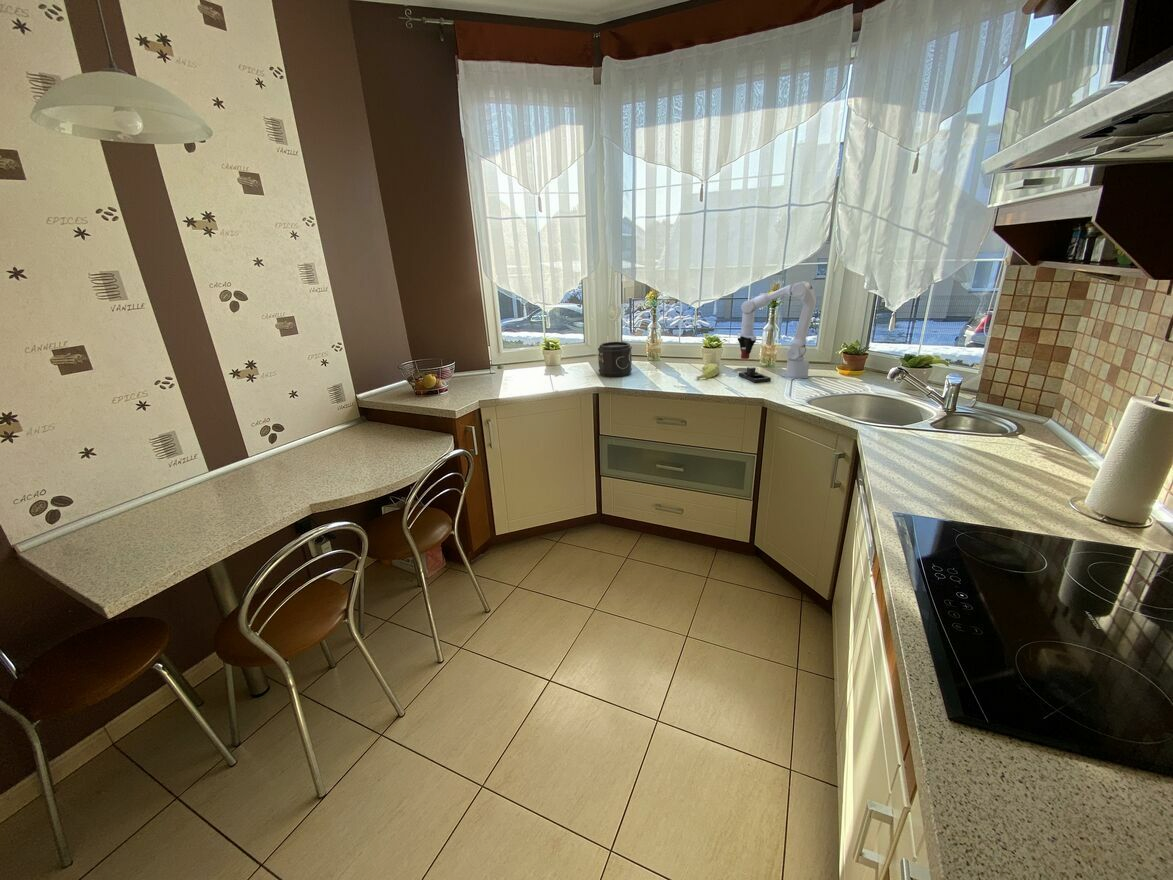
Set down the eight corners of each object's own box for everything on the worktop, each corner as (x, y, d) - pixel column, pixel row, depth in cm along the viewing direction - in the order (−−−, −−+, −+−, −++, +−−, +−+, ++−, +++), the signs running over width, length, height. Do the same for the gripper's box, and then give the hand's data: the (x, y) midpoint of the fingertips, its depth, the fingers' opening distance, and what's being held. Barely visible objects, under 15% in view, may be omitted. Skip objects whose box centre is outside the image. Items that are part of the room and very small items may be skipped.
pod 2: (752, 375, 235) (753, 365, 233) (757, 377, 231) (757, 367, 229) (744, 376, 234) (744, 366, 232) (748, 378, 230) (749, 368, 228)
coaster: (746, 368, 252) (746, 367, 252) (754, 371, 244) (754, 370, 244) (731, 369, 250) (731, 368, 250) (739, 373, 243) (739, 372, 242)
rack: (738, 377, 236) (738, 372, 235) (753, 375, 237) (754, 371, 236) (754, 384, 222) (754, 379, 221) (770, 382, 223) (771, 377, 222)
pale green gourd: (725, 359, 241) (705, 371, 229) (728, 369, 243) (708, 382, 230) (702, 362, 251) (681, 375, 239) (705, 372, 253) (684, 385, 240)
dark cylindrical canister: (638, 371, 257) (638, 342, 251) (622, 379, 243) (622, 348, 237) (609, 368, 266) (608, 340, 260) (592, 375, 252) (591, 346, 246)
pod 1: (746, 356, 245) (747, 347, 243) (751, 358, 241) (752, 348, 239) (738, 357, 245) (739, 347, 243) (743, 359, 241) (744, 349, 239)
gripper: (733, 324, 243) (731, 350, 248) (747, 327, 230) (745, 355, 235) (745, 323, 244) (743, 349, 249) (761, 326, 231) (758, 354, 236)
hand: (745, 352), depth 242 cm, fingers closed on pod 1, 4 cm apart
